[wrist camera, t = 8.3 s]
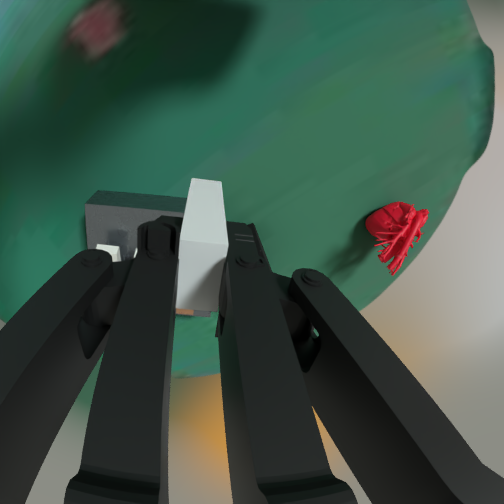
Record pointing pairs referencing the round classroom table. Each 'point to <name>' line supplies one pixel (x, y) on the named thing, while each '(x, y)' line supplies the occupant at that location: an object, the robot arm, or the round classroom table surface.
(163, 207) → the console
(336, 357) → the robot arm
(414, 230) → the heart organ
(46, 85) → the round classroom table surface
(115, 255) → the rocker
